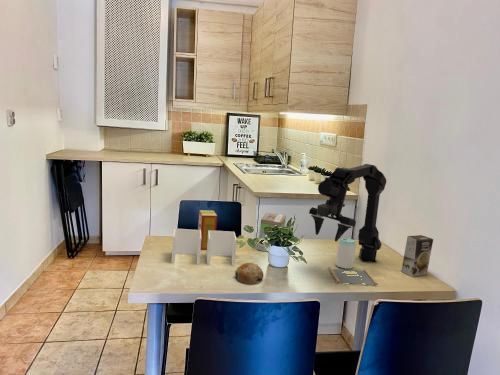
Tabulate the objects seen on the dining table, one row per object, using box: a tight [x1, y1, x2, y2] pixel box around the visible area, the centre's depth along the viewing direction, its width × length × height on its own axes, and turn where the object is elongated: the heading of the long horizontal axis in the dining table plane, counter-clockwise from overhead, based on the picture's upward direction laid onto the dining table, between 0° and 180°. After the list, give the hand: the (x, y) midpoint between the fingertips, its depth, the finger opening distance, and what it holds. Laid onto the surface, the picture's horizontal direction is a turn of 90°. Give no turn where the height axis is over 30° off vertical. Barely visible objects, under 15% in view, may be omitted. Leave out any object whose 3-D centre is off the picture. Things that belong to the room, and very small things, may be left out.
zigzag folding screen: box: [171, 228, 238, 266], centre depth 165 cm, size 25×11×11 cm, turn 97°
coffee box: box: [400, 234, 434, 278], centre depth 171 cm, size 9×6×16 cm
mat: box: [327, 266, 379, 286], centre depth 162 cm, size 16×14×1 cm
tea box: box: [257, 212, 287, 252], centre depth 188 cm, size 15×10×15 cm
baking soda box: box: [197, 209, 218, 251], centre depth 181 cm, size 10×6×16 cm
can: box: [335, 237, 357, 270], centre depth 172 cm, size 7×7×12 cm
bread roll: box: [234, 262, 264, 285], centre depth 150 cm, size 10×10×8 cm
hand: (325, 237), depth 158 cm, fingers open, 9 cm apart
